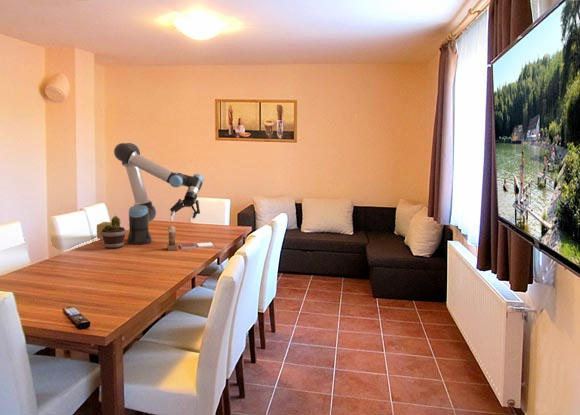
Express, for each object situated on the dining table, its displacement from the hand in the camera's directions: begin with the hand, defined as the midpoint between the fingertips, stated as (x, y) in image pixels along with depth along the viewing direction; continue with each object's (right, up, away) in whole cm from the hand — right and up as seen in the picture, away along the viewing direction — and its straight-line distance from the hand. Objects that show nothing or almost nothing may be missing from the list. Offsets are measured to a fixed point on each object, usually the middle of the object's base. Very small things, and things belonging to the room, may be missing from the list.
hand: (180, 221), depth 278 cm
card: (+14, -15, +5) cm, 22 cm away
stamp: (-3, -17, -8) cm, 19 cm away
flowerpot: (-40, -16, -5) cm, 43 cm away
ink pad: (+5, -16, 0) cm, 17 cm away
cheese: (-55, -12, +22) cm, 60 cm away
